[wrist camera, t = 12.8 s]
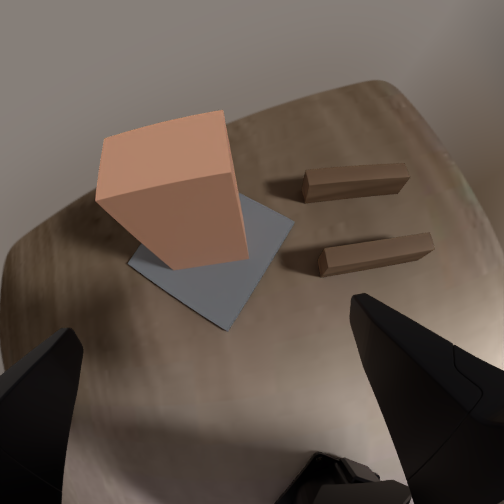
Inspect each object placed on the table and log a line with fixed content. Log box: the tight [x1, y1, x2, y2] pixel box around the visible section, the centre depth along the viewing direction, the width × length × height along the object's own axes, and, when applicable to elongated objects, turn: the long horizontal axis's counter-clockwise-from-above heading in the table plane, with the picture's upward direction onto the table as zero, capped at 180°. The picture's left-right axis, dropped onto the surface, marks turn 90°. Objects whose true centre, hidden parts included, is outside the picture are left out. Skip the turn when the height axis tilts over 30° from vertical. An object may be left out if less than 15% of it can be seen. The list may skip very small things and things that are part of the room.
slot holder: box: [302, 163, 435, 277], centre depth 22 cm, size 8×9×3 cm
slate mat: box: [128, 193, 294, 331], centre depth 23 cm, size 10×10×1 cm
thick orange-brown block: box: [95, 110, 249, 270], centre depth 17 cm, size 4×6×12 cm, turn 98°
